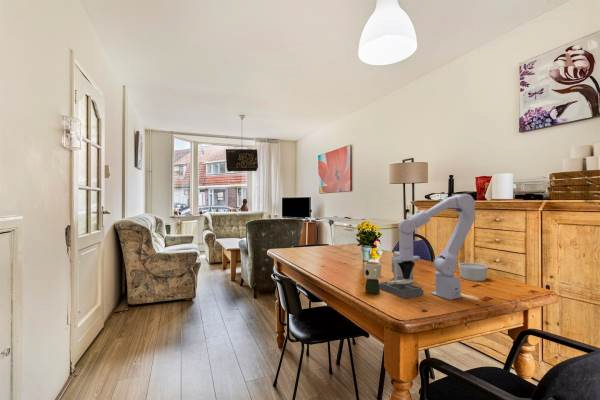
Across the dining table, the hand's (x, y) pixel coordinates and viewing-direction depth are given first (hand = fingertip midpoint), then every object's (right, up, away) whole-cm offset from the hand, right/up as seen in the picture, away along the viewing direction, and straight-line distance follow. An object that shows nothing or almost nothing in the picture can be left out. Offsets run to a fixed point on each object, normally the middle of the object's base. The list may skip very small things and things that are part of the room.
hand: (406, 278), depth 129 cm
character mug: (-14, -7, +2) cm, 16 cm away
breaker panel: (-2, -7, +3) cm, 8 cm away
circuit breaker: (+5, -7, +19) cm, 21 cm away
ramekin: (+43, -7, +25) cm, 51 cm away
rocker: (-2, -2, +3) cm, 4 cm away
